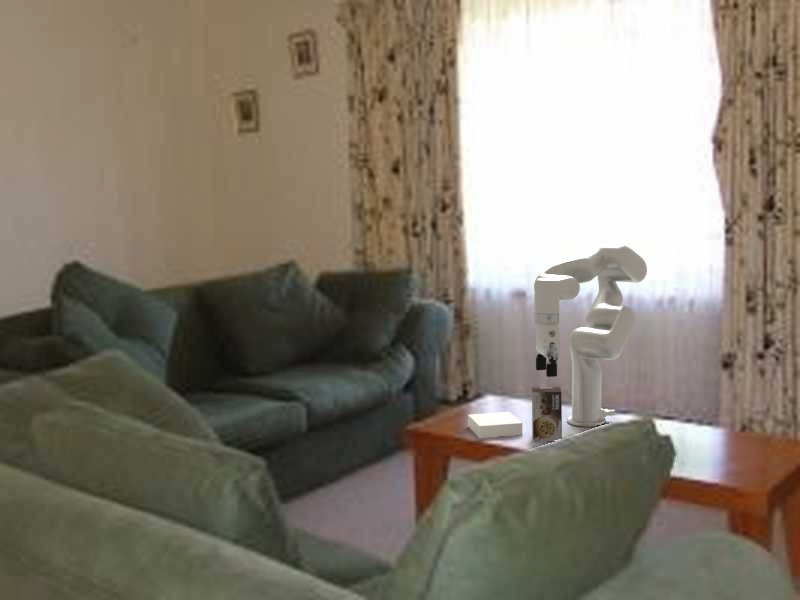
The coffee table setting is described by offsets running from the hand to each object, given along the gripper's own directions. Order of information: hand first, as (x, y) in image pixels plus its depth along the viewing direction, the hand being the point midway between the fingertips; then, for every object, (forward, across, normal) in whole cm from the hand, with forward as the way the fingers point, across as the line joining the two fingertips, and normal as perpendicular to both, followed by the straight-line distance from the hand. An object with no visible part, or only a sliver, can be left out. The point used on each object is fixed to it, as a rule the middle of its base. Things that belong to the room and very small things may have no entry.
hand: (546, 373), depth 297 cm
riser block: (+21, +13, +12) cm, 28 cm away
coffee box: (+21, 0, 0) cm, 21 cm away
